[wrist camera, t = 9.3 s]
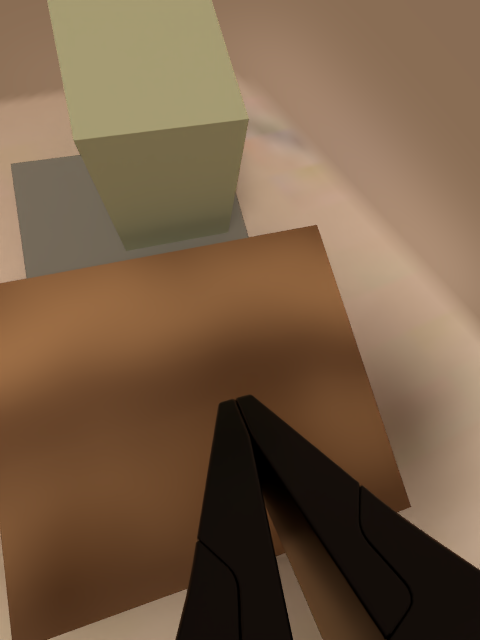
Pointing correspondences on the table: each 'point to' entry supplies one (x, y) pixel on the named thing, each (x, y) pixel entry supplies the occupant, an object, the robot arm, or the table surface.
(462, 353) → the table surface
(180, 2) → the card box
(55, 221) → the mat
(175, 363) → the panel
